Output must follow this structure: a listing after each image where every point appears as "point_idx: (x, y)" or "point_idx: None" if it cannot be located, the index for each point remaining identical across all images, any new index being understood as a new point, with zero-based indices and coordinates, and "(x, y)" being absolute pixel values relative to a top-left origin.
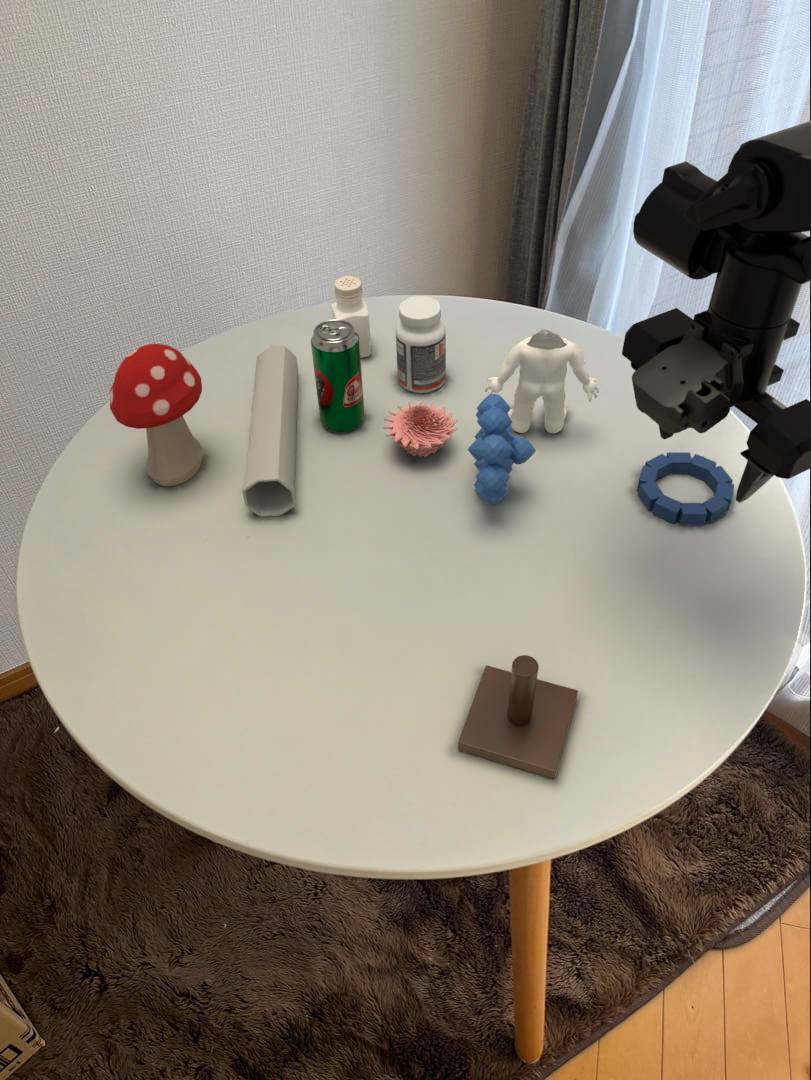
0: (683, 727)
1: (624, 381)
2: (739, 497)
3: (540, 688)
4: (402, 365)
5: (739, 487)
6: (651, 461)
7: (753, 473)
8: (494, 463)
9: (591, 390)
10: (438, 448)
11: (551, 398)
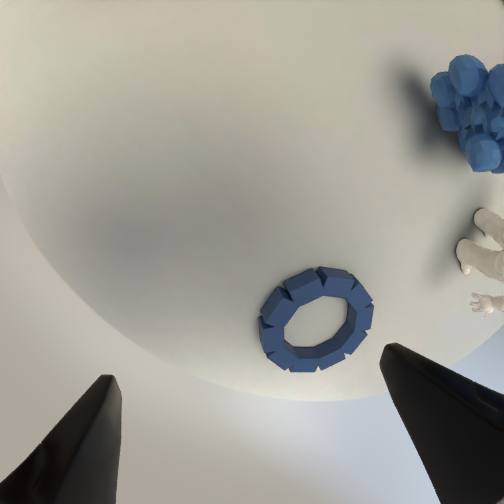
0: (17, 96)
1: (445, 342)
2: (94, 386)
3: None
4: None
5: (92, 410)
6: (370, 312)
7: (25, 477)
8: (489, 73)
9: (482, 302)
10: None
11: (500, 253)
